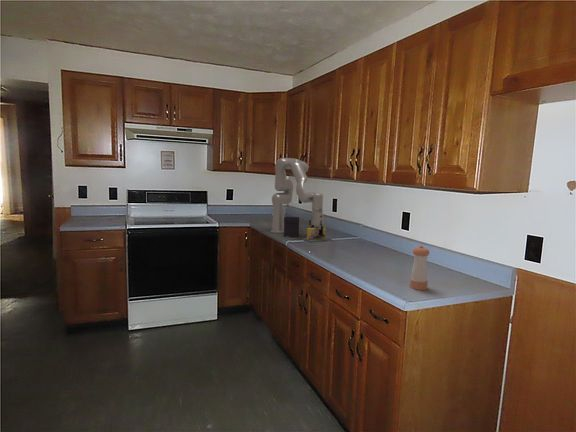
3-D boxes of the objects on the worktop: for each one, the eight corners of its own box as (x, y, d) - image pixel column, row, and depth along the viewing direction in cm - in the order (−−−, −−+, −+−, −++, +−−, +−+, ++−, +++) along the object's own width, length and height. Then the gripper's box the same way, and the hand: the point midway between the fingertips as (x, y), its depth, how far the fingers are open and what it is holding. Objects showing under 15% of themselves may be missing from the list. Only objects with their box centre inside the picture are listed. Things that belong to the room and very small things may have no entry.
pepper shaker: (420, 291, 160) (423, 248, 158) (406, 286, 166) (409, 245, 164) (430, 288, 165) (433, 246, 162) (416, 283, 170) (419, 243, 168)
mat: (300, 239, 267) (300, 238, 267) (321, 237, 278) (321, 236, 278) (311, 242, 258) (311, 241, 257) (331, 239, 268) (331, 238, 268)
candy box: (308, 240, 262) (308, 228, 261) (306, 239, 264) (306, 228, 263) (325, 237, 271) (325, 226, 270) (323, 237, 273) (323, 226, 272)
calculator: (298, 236, 279) (299, 217, 277) (297, 237, 275) (298, 217, 273) (285, 235, 282) (285, 216, 280) (283, 236, 278) (283, 217, 275)
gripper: (329, 211, 260) (328, 235, 262) (313, 208, 274) (313, 231, 276) (320, 212, 256) (320, 236, 258) (305, 209, 270) (305, 232, 272)
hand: (316, 233), depth 267 cm, fingers open, 9 cm apart
